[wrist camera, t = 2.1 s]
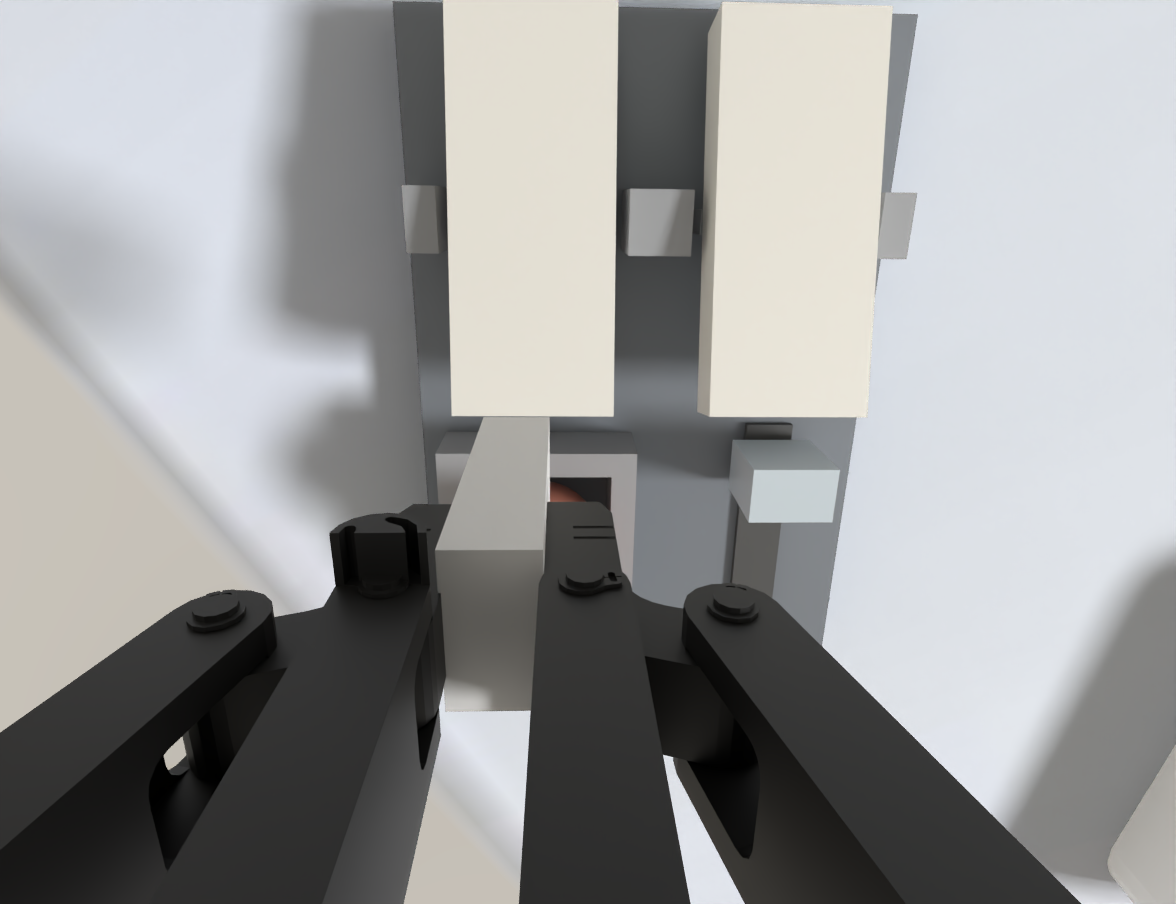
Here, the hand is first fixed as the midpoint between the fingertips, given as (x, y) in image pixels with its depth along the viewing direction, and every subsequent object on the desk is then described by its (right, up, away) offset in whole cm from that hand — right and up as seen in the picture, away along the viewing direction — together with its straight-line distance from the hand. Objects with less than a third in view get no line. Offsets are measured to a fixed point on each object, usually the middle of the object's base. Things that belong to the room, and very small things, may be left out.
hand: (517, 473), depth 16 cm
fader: (+9, 0, +11) cm, 14 cm away
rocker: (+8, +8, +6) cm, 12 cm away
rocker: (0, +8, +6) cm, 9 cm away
